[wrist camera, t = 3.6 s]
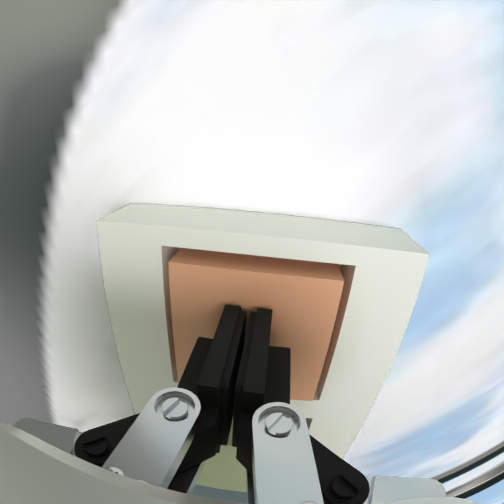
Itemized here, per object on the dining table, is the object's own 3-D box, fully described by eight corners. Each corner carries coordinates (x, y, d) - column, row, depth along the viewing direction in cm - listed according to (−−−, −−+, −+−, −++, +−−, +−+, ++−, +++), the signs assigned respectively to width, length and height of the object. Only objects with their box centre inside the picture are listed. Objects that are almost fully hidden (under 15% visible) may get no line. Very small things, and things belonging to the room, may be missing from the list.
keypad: (305, 487, 21) (304, 513, 18) (175, 470, 22) (166, 495, 19) (401, 229, 12) (429, 254, 9) (132, 202, 13) (96, 220, 10)
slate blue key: (270, 505, 18) (268, 525, 16) (201, 495, 19) (196, 516, 17) (280, 480, 16) (278, 506, 14) (196, 469, 16) (189, 494, 14)
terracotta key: (310, 367, 14) (312, 401, 12) (191, 353, 14) (178, 384, 12) (334, 255, 11) (344, 280, 9) (187, 240, 12) (168, 262, 10)
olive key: (285, 467, 15) (283, 495, 13) (194, 455, 16) (186, 482, 14) (303, 416, 13) (303, 452, 11) (186, 401, 14) (174, 434, 11)
